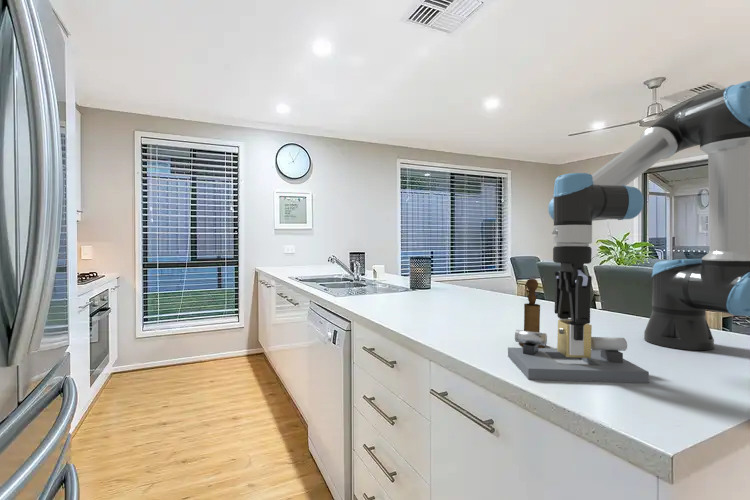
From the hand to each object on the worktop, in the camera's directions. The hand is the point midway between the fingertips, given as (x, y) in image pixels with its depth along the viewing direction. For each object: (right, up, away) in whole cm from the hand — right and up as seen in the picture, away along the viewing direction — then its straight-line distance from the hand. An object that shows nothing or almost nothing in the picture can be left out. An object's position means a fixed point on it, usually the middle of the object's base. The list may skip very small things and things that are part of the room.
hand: (570, 350), depth 85 cm
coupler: (+1, -1, 0) cm, 1 cm away
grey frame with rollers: (0, -4, 0) cm, 4 cm away
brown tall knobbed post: (-1, -4, +19) cm, 20 cm away
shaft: (-7, -2, +5) cm, 8 cm away
